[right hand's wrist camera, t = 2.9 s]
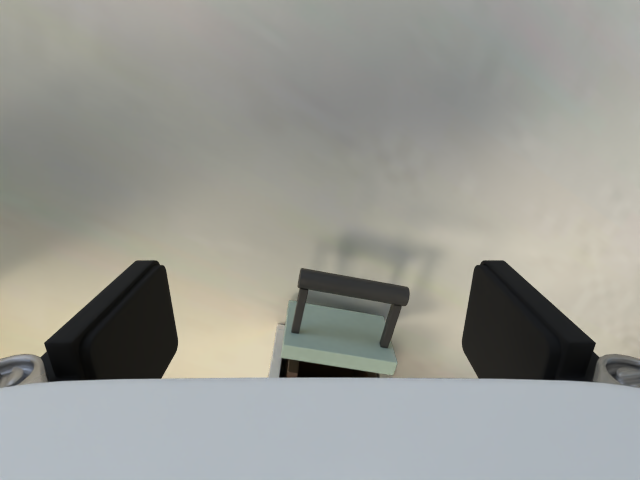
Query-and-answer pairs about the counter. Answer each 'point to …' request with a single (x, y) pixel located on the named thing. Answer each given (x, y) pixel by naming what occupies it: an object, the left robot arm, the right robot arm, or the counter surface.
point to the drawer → (340, 330)
